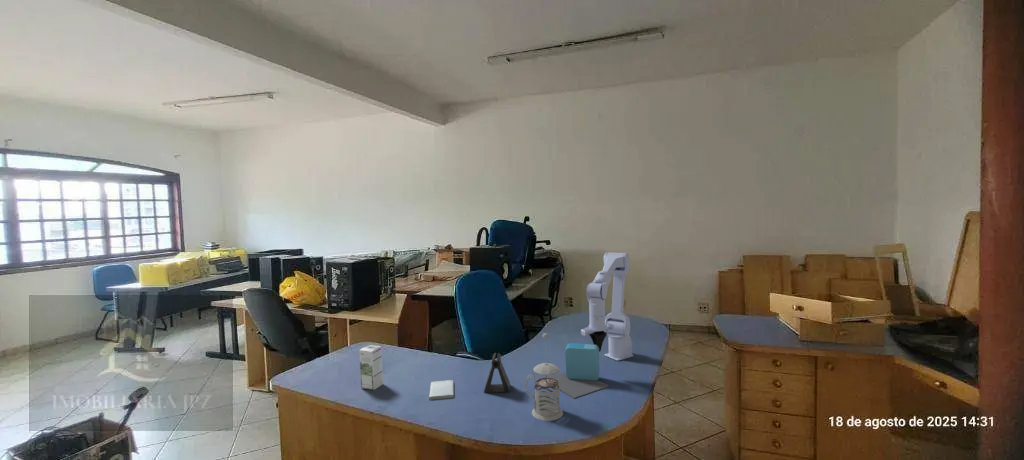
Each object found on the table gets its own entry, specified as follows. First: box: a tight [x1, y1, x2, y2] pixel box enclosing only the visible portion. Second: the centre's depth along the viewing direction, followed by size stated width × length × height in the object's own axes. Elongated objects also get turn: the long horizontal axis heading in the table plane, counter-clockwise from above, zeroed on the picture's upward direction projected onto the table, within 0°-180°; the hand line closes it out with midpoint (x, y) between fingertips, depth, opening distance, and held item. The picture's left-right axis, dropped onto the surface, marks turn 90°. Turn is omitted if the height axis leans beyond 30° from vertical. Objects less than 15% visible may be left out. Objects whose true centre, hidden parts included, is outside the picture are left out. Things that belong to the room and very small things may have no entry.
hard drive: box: [428, 379, 454, 401], centre depth 142 cm, size 2×8×12 cm
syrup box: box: [358, 345, 384, 391], centre depth 147 cm, size 6×6×14 cm
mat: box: [547, 371, 610, 399], centre depth 145 cm, size 16×18×1 cm
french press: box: [524, 332, 564, 422], centre depth 124 cm, size 10×12×25 cm
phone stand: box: [483, 352, 511, 394], centre depth 142 cm, size 9×6×12 cm, turn 88°
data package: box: [564, 342, 600, 381], centre depth 149 cm, size 12×4×12 cm, turn 76°
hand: (597, 351), depth 150 cm, fingers closed
